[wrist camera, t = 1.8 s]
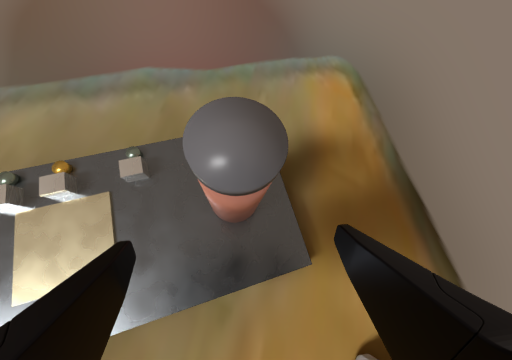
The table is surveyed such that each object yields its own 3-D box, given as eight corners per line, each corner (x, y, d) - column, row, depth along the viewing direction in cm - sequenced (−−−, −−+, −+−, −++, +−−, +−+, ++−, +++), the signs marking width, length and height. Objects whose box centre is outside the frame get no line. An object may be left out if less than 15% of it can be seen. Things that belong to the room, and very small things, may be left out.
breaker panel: (306, 263, 19) (318, 265, 17) (7, 368, 15) (-43, 394, 12) (260, 129, 24) (263, 113, 21) (15, 179, 19) (-21, 167, 16)
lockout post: (248, 230, 18) (268, 207, 8) (202, 212, 18) (162, 165, 8) (264, 186, 20) (300, 118, 9) (221, 169, 20) (210, 83, 10)
